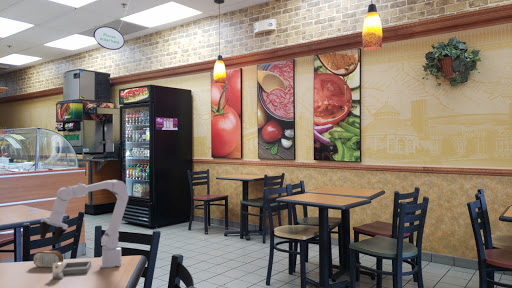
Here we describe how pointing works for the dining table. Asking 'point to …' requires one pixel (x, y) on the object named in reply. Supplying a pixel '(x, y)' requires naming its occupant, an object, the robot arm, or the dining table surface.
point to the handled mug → (57, 270)
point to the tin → (47, 258)
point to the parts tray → (76, 268)
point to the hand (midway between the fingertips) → (48, 240)
